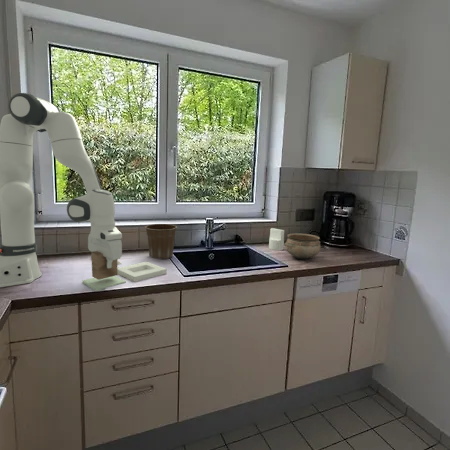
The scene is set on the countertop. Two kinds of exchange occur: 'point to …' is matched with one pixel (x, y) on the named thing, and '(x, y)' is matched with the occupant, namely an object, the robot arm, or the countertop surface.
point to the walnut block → (102, 266)
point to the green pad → (103, 282)
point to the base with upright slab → (276, 239)
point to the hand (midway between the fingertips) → (104, 265)
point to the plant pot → (161, 240)
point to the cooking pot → (302, 245)
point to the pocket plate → (141, 271)
